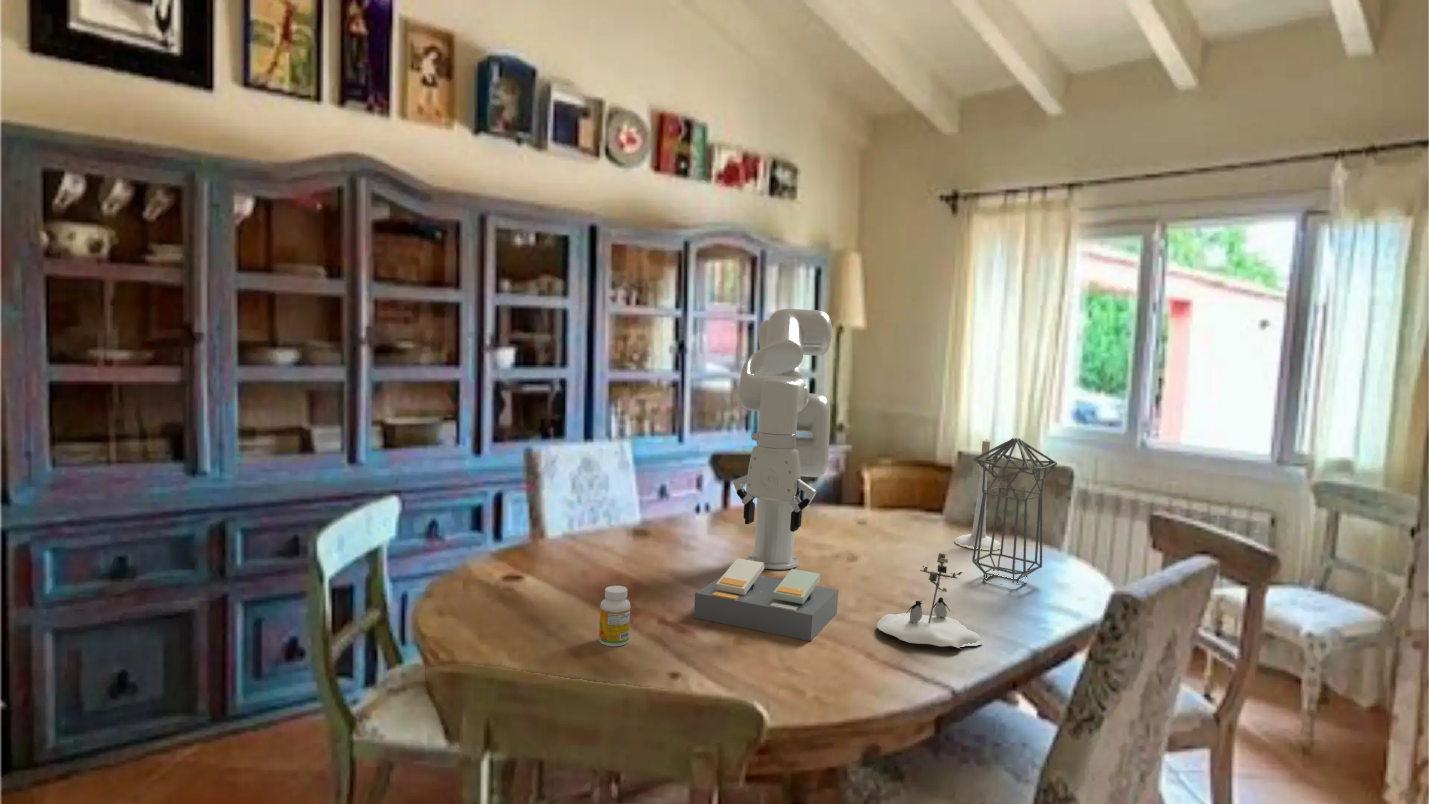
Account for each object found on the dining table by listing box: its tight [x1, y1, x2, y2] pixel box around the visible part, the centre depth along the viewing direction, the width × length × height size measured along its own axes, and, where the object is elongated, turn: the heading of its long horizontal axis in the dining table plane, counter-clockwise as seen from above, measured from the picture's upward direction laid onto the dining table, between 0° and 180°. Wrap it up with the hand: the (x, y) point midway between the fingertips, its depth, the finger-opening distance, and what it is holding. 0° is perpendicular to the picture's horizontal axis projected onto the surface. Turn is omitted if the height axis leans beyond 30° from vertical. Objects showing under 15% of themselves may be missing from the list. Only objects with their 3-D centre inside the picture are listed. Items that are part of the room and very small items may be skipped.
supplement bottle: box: [598, 585, 632, 648], centre depth 152 cm, size 5×5×10 cm
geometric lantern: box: [971, 437, 1058, 584], centre depth 201 cm, size 16×16×35 cm
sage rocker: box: [773, 568, 821, 604], centre depth 168 cm, size 11×6×2 cm, turn 156°
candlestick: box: [954, 439, 1001, 548], centre depth 238 cm, size 13×13×30 cm
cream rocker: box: [716, 557, 765, 595], centre depth 172 cm, size 11×6×2 cm, turn 156°
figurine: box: [876, 552, 981, 649], centre depth 164 cm, size 20×18×16 cm
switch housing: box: [693, 575, 839, 642], centre depth 170 cm, size 18×24×6 cm
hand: (771, 526), depth 169 cm, fingers open, 9 cm apart
